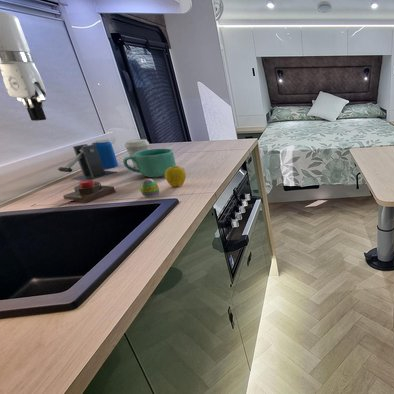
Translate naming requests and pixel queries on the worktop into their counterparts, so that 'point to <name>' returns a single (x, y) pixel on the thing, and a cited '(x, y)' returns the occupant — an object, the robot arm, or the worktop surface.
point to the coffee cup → (136, 147)
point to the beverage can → (106, 153)
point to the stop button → (86, 183)
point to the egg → (149, 188)
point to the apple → (175, 175)
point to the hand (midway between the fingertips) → (39, 120)
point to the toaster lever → (72, 162)
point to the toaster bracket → (90, 163)
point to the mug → (152, 162)
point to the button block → (89, 193)
